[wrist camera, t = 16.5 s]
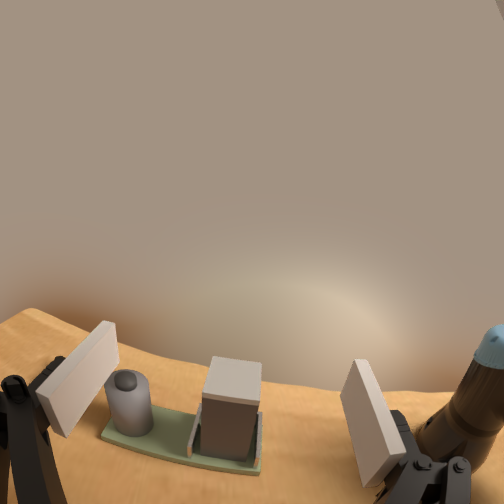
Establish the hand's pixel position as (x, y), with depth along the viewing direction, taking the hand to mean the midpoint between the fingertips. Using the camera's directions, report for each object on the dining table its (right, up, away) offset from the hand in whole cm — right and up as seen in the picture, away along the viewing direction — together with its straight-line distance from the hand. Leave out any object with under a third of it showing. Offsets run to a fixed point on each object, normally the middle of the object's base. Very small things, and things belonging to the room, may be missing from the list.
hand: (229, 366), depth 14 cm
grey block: (-2, -20, +19) cm, 28 cm away
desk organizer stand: (-9, -21, +20) cm, 30 cm away
